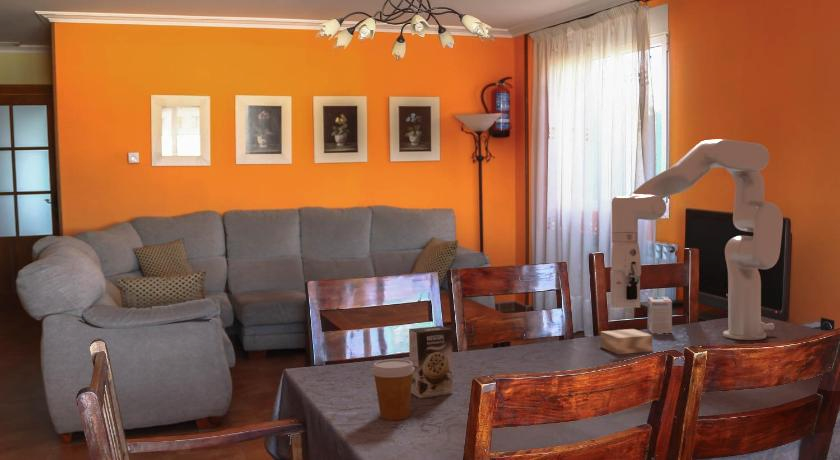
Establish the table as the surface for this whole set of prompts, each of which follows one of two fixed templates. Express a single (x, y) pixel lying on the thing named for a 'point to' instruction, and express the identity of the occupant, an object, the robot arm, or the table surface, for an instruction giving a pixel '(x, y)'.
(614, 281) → the small box
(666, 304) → the light bulb box
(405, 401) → the disposable coffee cup
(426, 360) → the cookie box
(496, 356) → the table surface
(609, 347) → the oak block
